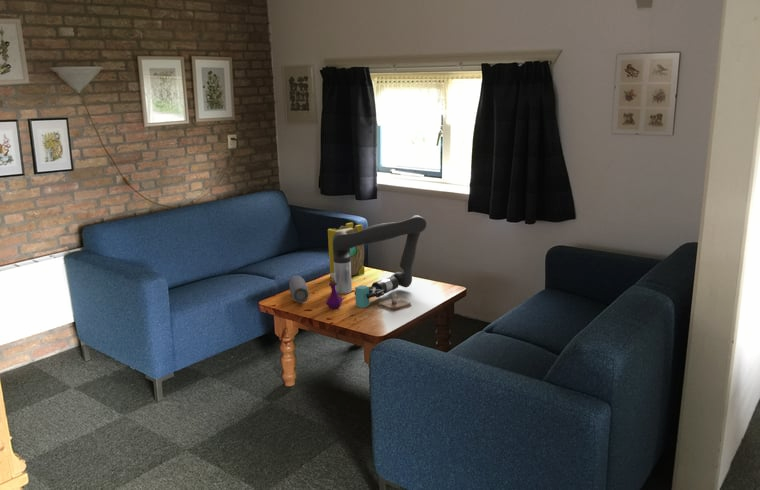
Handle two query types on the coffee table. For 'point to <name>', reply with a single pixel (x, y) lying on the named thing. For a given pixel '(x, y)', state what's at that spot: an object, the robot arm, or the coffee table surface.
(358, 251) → the decorative book
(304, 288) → the bluetooth speaker
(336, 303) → the purple potion bottle
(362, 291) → the tall teal pillar
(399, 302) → the walnut base plate
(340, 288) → the robot arm
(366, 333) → the coffee table surface
